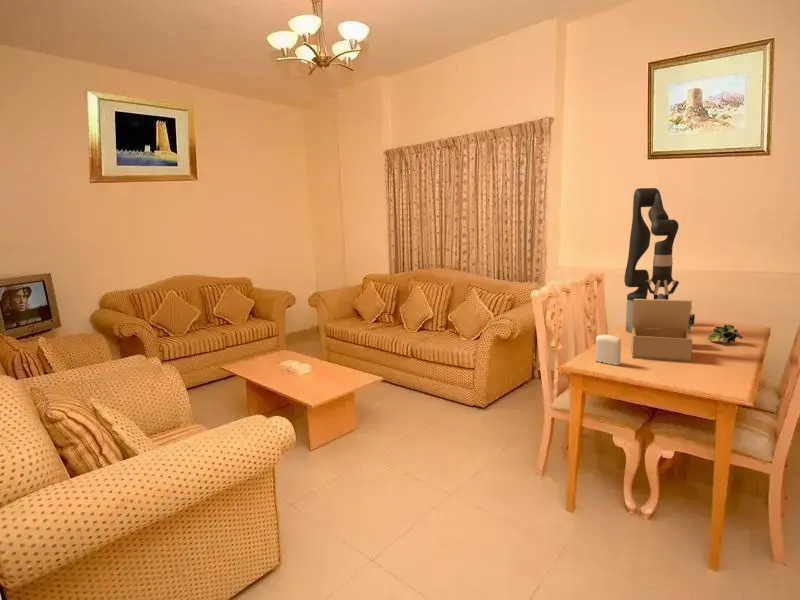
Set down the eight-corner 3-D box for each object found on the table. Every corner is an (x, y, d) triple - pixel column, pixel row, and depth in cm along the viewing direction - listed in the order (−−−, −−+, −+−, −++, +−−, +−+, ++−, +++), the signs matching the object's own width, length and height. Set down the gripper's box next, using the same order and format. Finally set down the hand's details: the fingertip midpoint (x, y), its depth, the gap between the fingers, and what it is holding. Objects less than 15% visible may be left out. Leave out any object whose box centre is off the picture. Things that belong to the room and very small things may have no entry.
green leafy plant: (727, 352, 218) (747, 334, 213) (723, 354, 210) (743, 335, 205) (706, 336, 224) (725, 318, 219) (701, 337, 217) (720, 318, 211)
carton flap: (631, 327, 214) (631, 319, 218) (687, 330, 204) (685, 321, 209) (633, 299, 205) (633, 291, 210) (691, 301, 196) (690, 293, 200)
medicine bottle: (680, 326, 249) (681, 305, 247) (674, 323, 256) (675, 302, 254) (694, 326, 248) (695, 305, 245) (688, 323, 254) (689, 302, 252)
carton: (631, 348, 215) (632, 327, 214) (685, 351, 206) (686, 330, 204) (632, 357, 201) (633, 336, 199) (690, 362, 192) (692, 339, 190)
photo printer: (593, 361, 198) (594, 334, 196) (597, 359, 201) (598, 332, 199) (618, 366, 191) (619, 338, 189) (621, 363, 194) (623, 336, 192)
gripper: (679, 264, 203) (677, 301, 206) (644, 264, 209) (642, 301, 212) (682, 265, 197) (679, 304, 199) (645, 265, 203) (643, 303, 205)
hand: (660, 302), depth 206 cm, fingers closed on carton flap, 3 cm apart
